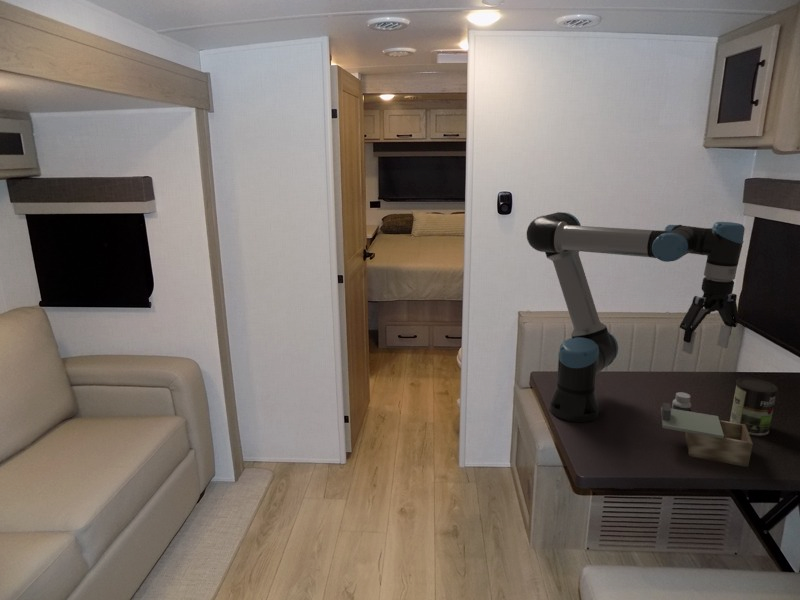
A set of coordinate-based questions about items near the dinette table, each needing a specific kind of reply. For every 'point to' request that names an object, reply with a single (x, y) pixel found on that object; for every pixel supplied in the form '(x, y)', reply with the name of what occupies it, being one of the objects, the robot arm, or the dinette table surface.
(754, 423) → the coffee can
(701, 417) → the lid
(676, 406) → the pill bottle
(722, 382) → the dinette table surface
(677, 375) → the dinette table surface
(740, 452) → the box
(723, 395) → the dinette table surface
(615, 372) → the dinette table surface
